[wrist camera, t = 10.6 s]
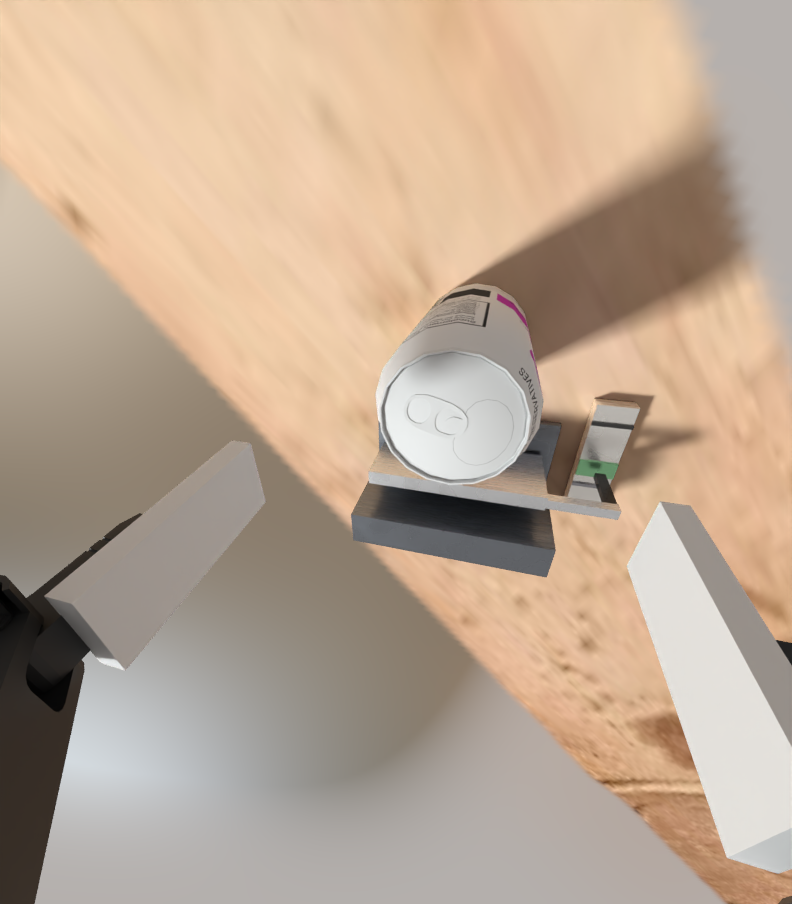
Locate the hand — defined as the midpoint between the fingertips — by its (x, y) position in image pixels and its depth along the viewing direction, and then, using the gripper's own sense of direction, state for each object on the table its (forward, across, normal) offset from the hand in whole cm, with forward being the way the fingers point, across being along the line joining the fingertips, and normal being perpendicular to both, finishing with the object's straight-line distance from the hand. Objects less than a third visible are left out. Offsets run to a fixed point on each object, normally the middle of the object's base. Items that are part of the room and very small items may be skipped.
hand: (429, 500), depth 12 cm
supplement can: (+21, 0, 0) cm, 21 cm away
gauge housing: (+21, +3, -10) cm, 23 cm away
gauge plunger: (+20, +3, -10) cm, 22 cm away
